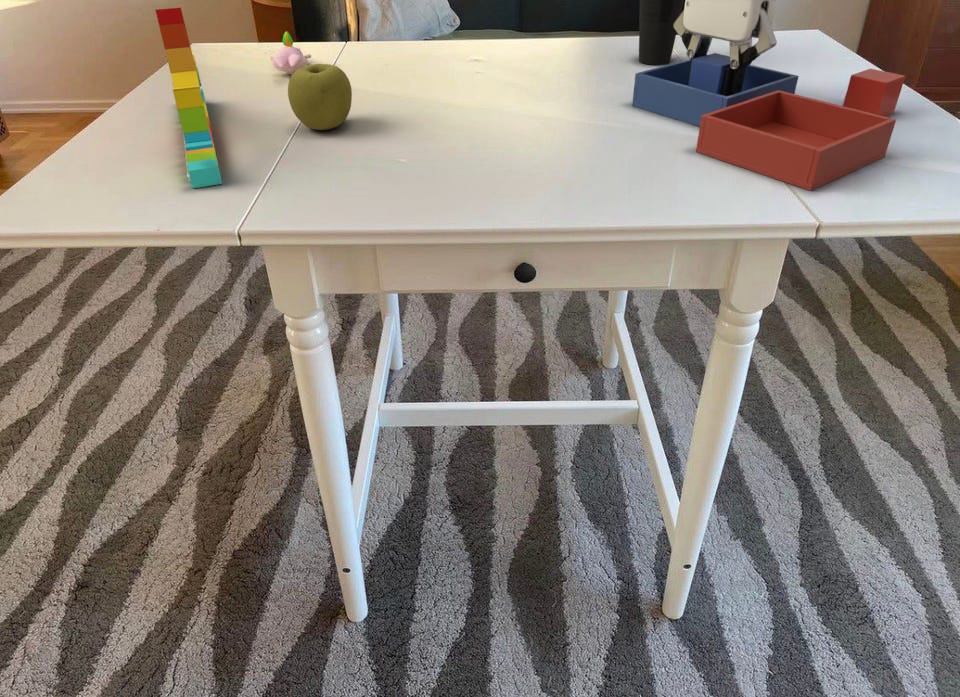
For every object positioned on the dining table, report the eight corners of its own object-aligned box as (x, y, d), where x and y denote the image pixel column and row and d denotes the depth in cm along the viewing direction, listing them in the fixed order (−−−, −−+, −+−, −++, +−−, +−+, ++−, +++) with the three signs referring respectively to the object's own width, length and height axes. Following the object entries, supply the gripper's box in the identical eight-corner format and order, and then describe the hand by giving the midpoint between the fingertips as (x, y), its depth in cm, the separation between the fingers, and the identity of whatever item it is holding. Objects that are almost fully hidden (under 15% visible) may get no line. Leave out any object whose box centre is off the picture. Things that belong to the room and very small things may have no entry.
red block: (894, 112, 91) (905, 75, 88) (875, 120, 88) (886, 82, 86) (860, 104, 94) (870, 68, 91) (840, 111, 91) (850, 74, 89)
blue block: (737, 96, 93) (744, 59, 90) (715, 103, 90) (721, 65, 88) (708, 88, 95) (714, 52, 93) (686, 95, 93) (692, 58, 91)
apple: (288, 139, 87) (277, 77, 83) (301, 117, 93) (292, 59, 89) (350, 138, 87) (343, 76, 83) (360, 116, 93) (353, 58, 89)
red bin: (884, 157, 79) (896, 119, 76) (810, 191, 72) (821, 151, 69) (771, 124, 88) (778, 89, 86) (695, 151, 81) (701, 115, 79)
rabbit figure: (275, 71, 117) (266, 80, 104) (268, 31, 114) (259, 35, 101) (314, 68, 118) (311, 77, 104) (308, 28, 115) (304, 32, 102)
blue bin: (791, 108, 93) (799, 75, 90) (721, 133, 86) (727, 98, 83) (701, 85, 102) (706, 54, 99) (631, 105, 95) (635, 73, 92)
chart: (181, 105, 98) (149, -16, 90) (205, 102, 99) (177, -19, 91) (190, 189, 75) (148, 35, 66) (222, 184, 76) (185, 32, 67)
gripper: (826, -66, 79) (787, 104, 89) (700, -77, 89) (679, 75, 100) (786, -60, 75) (750, 117, 85) (660, -72, 86) (642, 85, 96)
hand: (712, 92), depth 93 cm, fingers closed on blue block, 4 cm apart
